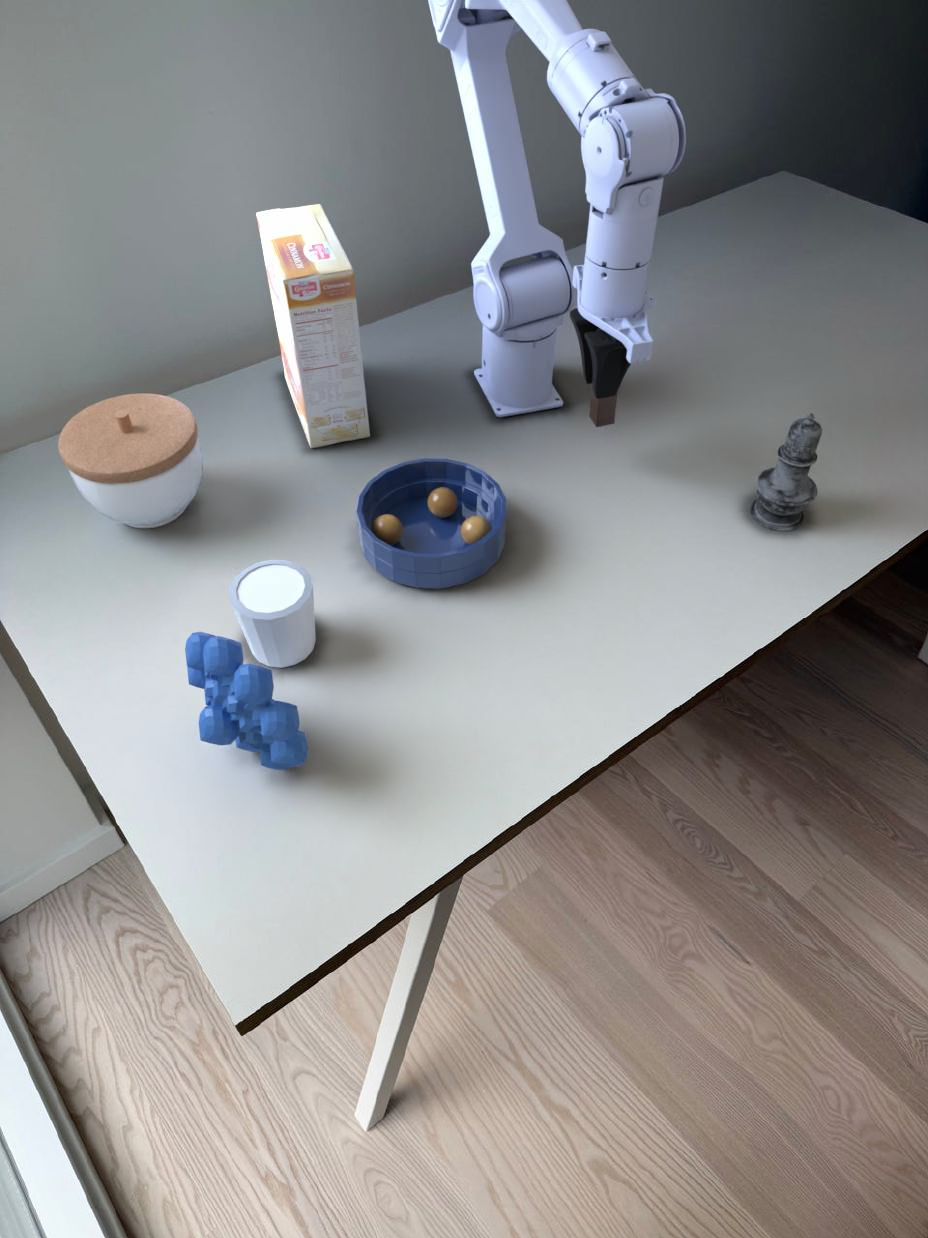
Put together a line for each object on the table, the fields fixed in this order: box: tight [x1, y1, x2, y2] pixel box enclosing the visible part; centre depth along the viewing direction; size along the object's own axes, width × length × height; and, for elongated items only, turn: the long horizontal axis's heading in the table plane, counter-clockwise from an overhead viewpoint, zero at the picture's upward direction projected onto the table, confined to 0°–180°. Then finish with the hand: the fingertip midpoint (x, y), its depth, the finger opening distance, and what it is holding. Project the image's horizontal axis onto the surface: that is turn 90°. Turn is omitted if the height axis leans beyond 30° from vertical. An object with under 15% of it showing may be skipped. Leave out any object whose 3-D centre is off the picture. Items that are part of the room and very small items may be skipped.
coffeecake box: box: [255, 203, 371, 449], centre depth 95 cm, size 15×7×20 cm, turn 18°
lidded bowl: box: [57, 392, 204, 529], centre depth 86 cm, size 13×13×11 cm
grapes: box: [184, 631, 309, 771], centre depth 66 cm, size 12×7×12 cm, turn 51°
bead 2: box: [428, 487, 458, 518], centre depth 88 cm, size 3×3×3 cm
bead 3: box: [461, 516, 492, 546], centre depth 85 cm, size 3×3×3 cm
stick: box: [588, 328, 619, 428], centre depth 87 cm, size 2×2×10 cm
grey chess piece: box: [749, 412, 823, 532], centre depth 85 cm, size 6×6×12 cm
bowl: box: [355, 458, 507, 589], centre depth 85 cm, size 14×14×4 cm
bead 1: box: [372, 514, 403, 546], centre depth 85 cm, size 3×3×3 cm
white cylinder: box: [228, 558, 317, 669], centre depth 76 cm, size 7×7×7 cm
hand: (600, 388), depth 88 cm, fingers closed on stick, 2 cm apart
